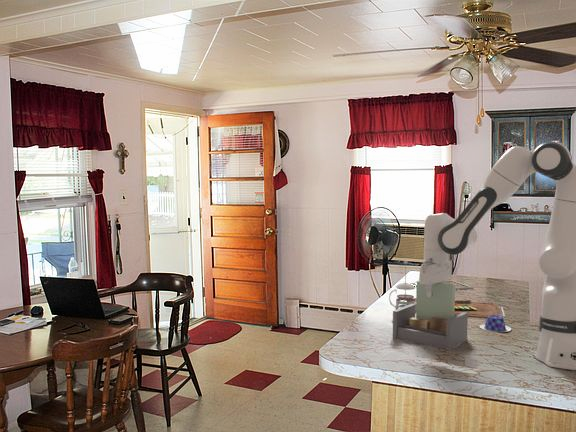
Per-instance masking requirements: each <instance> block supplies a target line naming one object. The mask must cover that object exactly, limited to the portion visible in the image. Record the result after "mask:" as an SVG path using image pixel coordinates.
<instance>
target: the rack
mask: <svg viewBox="0 0 576 432" xmlns="http://www.w3.org/2000/svg"><path fill="white" fill-rule="evenodd" d="M399 308H400V309H399ZM399 308H398V309H397V310H396V309H394V310H393V311H392V339H395V340H399V341H405V342H410V343H415V344H417V345H418V344H419V345H424V346H428V347H433V348H438V349H443V350H448V351H451V350H453V349H455V348H456V347H457V346H460V345H461V344H463V343H464V342H466V341H468V318H469V317H468V313H467V312H463V313H461V314H459V315H457V316H454V317H452V318H450V319H448V320H446V332H441V331H435V330H430V329H425V328H419V327H414V326H410V318H412V317H413V318H416V313H415V310H416V304H410V305H408V306H407V305H406V306H405V307H402V308H401V307H399Z"/></svg>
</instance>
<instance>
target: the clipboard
mask: <svg viewBox="0 0 576 432" xmlns="http://www.w3.org/2000/svg"><path fill="white" fill-rule="evenodd" d="M446 282H454V283H457V284H460V285H462V286H465V287H461V288H455V289H465V290H473V289H474V287H473V286H470V285H468V284H467V283H462V282H458V281H456V280H446ZM415 283H416V282H411V283H410V284H413V285H416V284H415ZM416 286H417V285H416Z"/></svg>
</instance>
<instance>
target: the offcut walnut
mask: <svg viewBox="0 0 576 432" xmlns="http://www.w3.org/2000/svg"><path fill="white" fill-rule="evenodd" d="M446 320H448V319H442V318H436V317H431V318H430V330H435V331H441V332H446Z"/></svg>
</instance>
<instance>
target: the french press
mask: <svg viewBox="0 0 576 432" xmlns="http://www.w3.org/2000/svg"><path fill="white" fill-rule="evenodd" d="M403 264H405V266H404V268H405V271H404V272H405V275H404V276H405V277H404V278H405V280H404V281H405V282H403V283H402V282H401V283H399V284H396V286H395V289H393V290H392V291H390V294H389V297H388V300H389V303H390V305H391V306H392V307H393V308H394V309H395V310H397V309H400V308H401V307H405V306H408V305H410V304H415V300H414V299H412V298H415V296H414V295H412V294H407V293H406V292H407V291H409V290H412V291H413V290H415V289H416V287H414V286H413V285H411V283H407V281H406V280H407V279H406V278H407V277H406V276H407V264H409V262H408V261H407V260H404V261H403ZM397 289H398V290H404V293H403V294H397V291H398V290H397ZM393 292H395V293H396V294H397V295H396V299H395V304H393V303H392V300H391V295H392V293H393ZM403 301H407V302H403ZM402 304H404V305H402Z"/></svg>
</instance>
